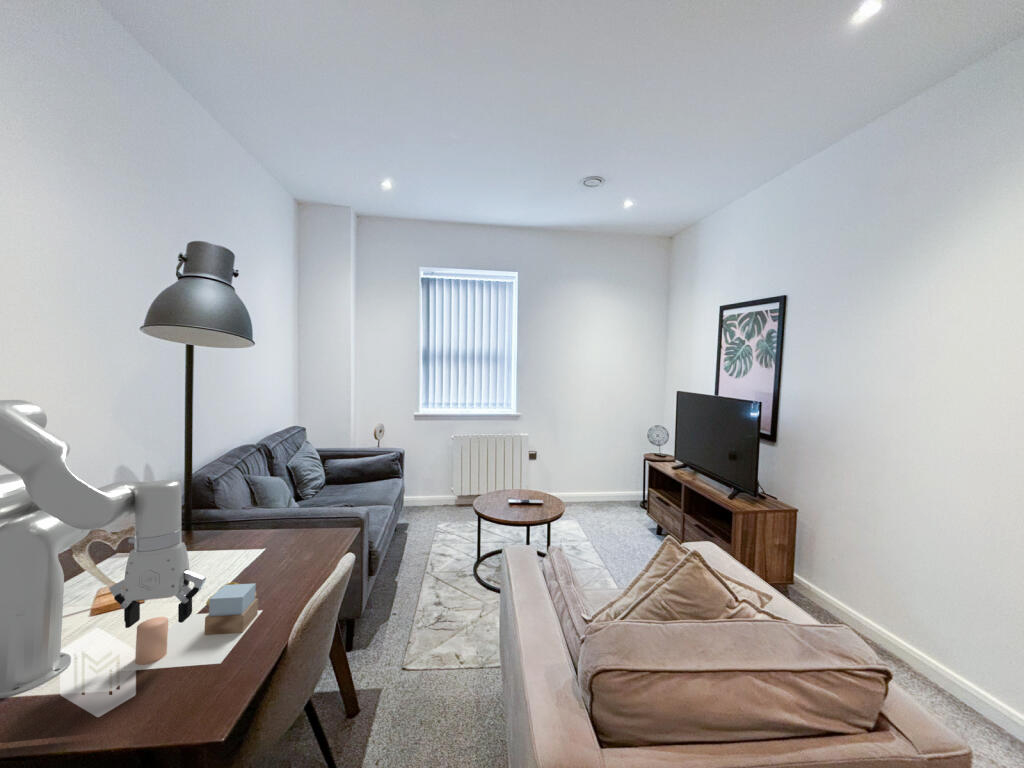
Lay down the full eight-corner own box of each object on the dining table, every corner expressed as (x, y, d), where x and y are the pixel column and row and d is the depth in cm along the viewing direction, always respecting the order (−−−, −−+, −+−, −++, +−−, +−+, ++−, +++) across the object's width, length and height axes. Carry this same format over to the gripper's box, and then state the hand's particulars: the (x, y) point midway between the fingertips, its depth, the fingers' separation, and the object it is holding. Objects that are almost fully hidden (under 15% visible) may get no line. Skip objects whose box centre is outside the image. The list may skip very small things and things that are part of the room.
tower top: (208, 616, 95) (209, 598, 95) (224, 601, 102) (224, 584, 102) (242, 614, 96) (242, 597, 96) (255, 599, 103) (255, 583, 103)
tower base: (204, 635, 94) (205, 617, 95) (222, 616, 102) (223, 600, 102) (242, 632, 96) (243, 615, 96) (257, 614, 104) (258, 598, 104)
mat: (120, 674, 82) (120, 671, 82) (184, 617, 103) (184, 614, 103) (220, 666, 85) (220, 663, 85) (262, 612, 106) (262, 610, 106)
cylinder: (128, 665, 84) (130, 631, 84) (145, 650, 88) (147, 617, 89) (156, 663, 84) (158, 629, 85) (172, 648, 89) (173, 616, 90)
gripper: (96, 550, 82) (96, 637, 82) (194, 543, 85) (194, 627, 85) (125, 537, 89) (125, 616, 89) (213, 531, 92) (213, 608, 92)
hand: (158, 621), depth 87 cm, fingers open, 9 cm apart
